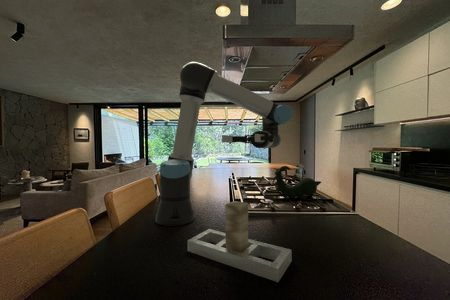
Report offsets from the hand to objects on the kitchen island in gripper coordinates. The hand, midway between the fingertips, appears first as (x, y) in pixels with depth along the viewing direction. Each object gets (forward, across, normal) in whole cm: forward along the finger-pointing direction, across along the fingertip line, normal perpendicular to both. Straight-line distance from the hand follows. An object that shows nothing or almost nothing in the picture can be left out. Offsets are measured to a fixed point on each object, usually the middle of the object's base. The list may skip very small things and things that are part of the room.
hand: (238, 138), depth 79 cm
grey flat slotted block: (+19, -10, -32) cm, 38 cm away
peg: (+19, -10, -32) cm, 38 cm away
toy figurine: (-55, -7, -32) cm, 64 cm away
